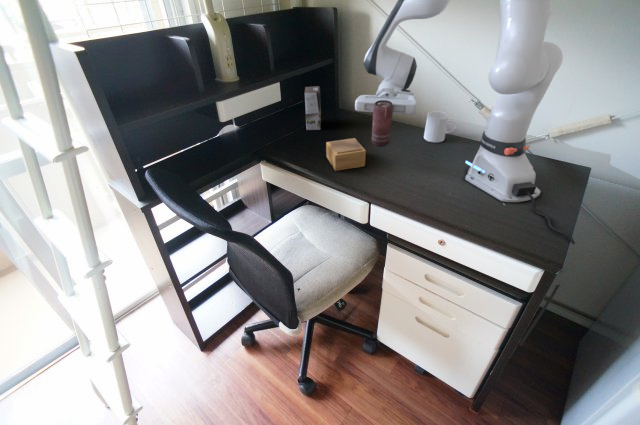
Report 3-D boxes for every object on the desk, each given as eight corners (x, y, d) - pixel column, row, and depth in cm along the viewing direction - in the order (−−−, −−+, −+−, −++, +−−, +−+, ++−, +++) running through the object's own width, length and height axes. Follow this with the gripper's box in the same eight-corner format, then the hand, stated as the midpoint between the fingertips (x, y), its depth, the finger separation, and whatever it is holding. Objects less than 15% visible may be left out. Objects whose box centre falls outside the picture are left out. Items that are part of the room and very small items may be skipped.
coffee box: (321, 130, 142) (319, 92, 132) (306, 130, 142) (304, 92, 132) (321, 122, 149) (320, 85, 139) (307, 122, 149) (305, 86, 139)
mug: (450, 146, 125) (455, 122, 119) (420, 139, 131) (424, 115, 125) (456, 139, 130) (462, 115, 124) (428, 132, 136) (432, 109, 130)
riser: (364, 166, 115) (365, 149, 111) (335, 171, 113) (335, 154, 109) (354, 152, 124) (354, 136, 120) (326, 156, 122) (326, 141, 118)
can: (375, 148, 109) (378, 108, 100) (368, 140, 114) (370, 101, 105) (392, 145, 110) (397, 105, 101) (384, 137, 115) (388, 98, 106)
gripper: (358, 88, 115) (351, 101, 104) (418, 91, 110) (417, 105, 100) (357, 106, 118) (350, 120, 108) (415, 109, 114) (414, 125, 103)
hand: (383, 113), depth 104 cm, fingers closed, pressing on can
